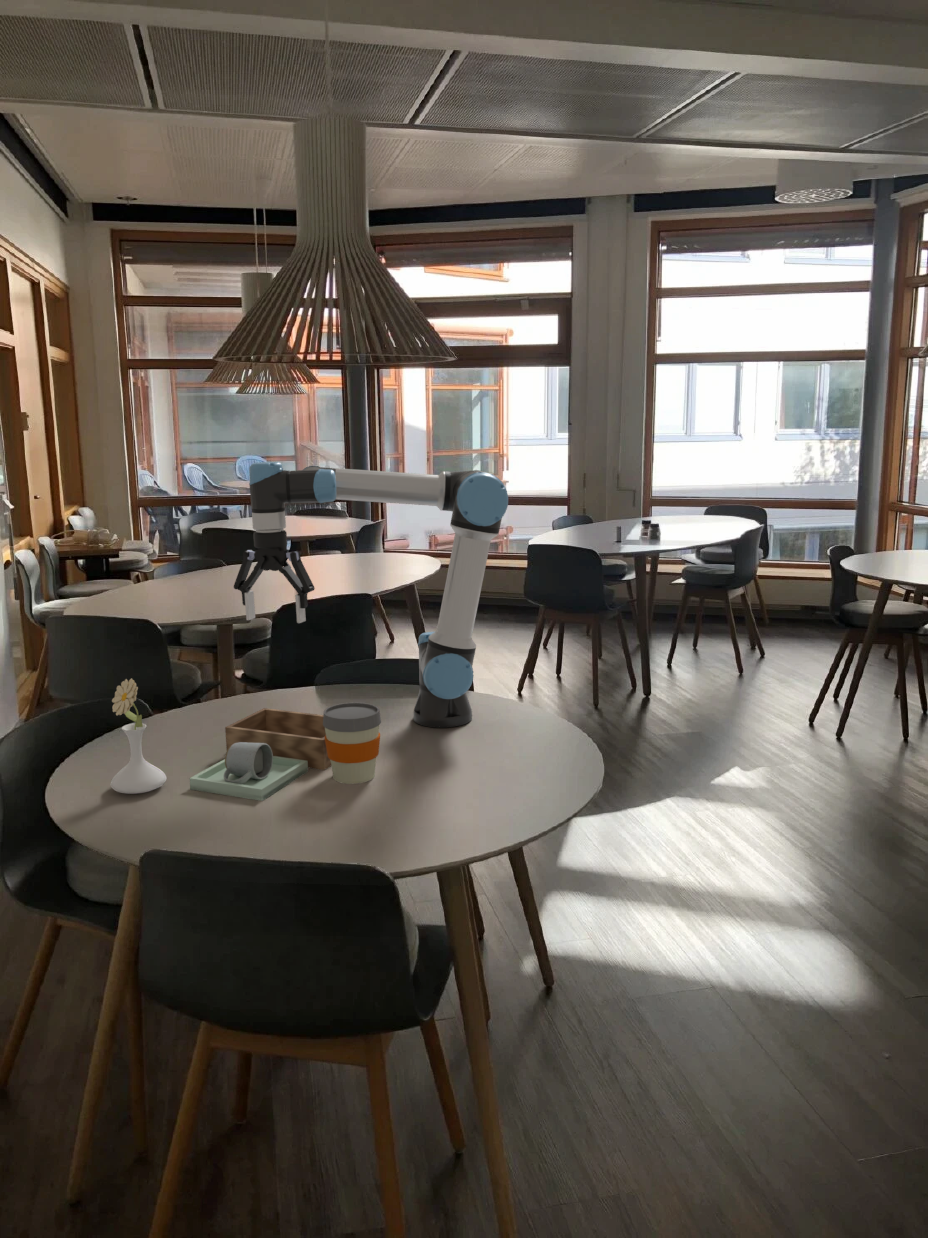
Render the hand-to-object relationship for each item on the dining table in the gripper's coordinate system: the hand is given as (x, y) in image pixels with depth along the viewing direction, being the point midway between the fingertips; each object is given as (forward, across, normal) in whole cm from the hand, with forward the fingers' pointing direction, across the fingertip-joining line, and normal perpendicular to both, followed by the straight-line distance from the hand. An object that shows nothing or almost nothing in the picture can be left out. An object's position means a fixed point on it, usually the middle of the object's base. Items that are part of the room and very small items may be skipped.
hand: (275, 620), depth 230 cm
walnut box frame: (+30, -5, +4) cm, 31 cm away
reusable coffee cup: (+31, -26, +14) cm, 43 cm away
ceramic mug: (+29, -6, +25) cm, 39 cm away
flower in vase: (+30, +14, +36) cm, 49 cm away
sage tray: (+30, -6, +24) cm, 39 cm away
